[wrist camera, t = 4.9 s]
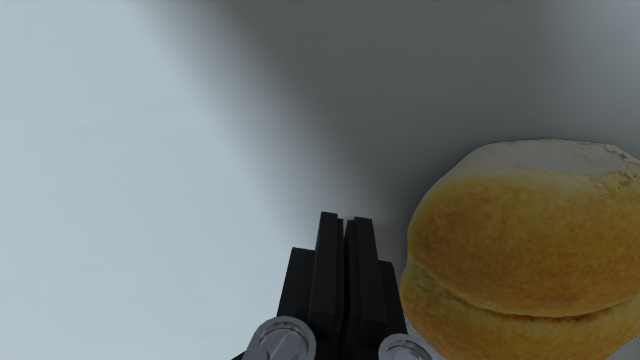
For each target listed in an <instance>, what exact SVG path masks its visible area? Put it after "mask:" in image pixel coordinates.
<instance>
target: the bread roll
mask: <svg viewBox="0 0 640 360" xmlns="http://www.w3.org/2000/svg"><path fill="white" fill-rule="evenodd" d="M407 247H408V254H407V262H406V266H405V269H404V271H403V273H402V277H401V282H400V288H399V293H400V301H401V305H402V307H403V310H404V312H405V314H406V316H407V318H408V319H409V321H410V323H411V324H412V326H413V327H414V328H415V329H416V331H417V332H418V333H419V334H420V335H421V336H422V337H423V338H424V339H425V340H426V341H427V342H428V344H429V345H430V346H431V347H432V348H434V349H435V350H436V351H437V352H438V353H440V354H441V355H442V356H443V357H445V358H446V359H448V360H604V359H606V358H607V357H609V356H610V355H611V354H612V353H614V352H615V351H616V350H617V349H619V348H620V347H621V346H622V345H624V344H625V343H627V342H628V341H630V340H631V339H633V338H634V337H636V336H637V335H638V334H639V333H640V160H639V159H637V158H635V157H633V156H632V155H630V154H629V153H627V152H625V151H623V150H622V149H620V148H619V147H618V146H616V145H610V144H601V143H594V142H582V141H570V140H561V139H538V140H520V141H510V142H504V141H503V142H498V143H492V144H487V145H484V146H481V147H479V148H477V149H476V150H474V151H473V152H471V153H470V154H468V155H467V156H466V157H464V158H463V159H462V160H461V161H460V162H459V163H458V164H457V165H455V166H454V167H453V168H452V169H451V170H450V171H449V172H448V173H446V174H445V175H444V176H443V177H441V178H440V179H439V180H438V181H437V182H436V183H435V184H434V185H433V186H432V187H431V188H430V189H429V190H428V191H427V192H426V194H425V195H424V196H423V198H422V199H421V201H420V202H419V204H418V206H417V208H416V210H415V212H414V214H413V216H412V219H411V221H410V224H409V227H408V230H407Z"/></svg>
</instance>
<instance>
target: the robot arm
mask: <svg viewBox="0 0 640 360" xmlns="http://www.w3.org/2000/svg"><path fill="white" fill-rule="evenodd" d="M232 360H439V359H438V357H437V356H436V354H435V353H434V352H433V350H432V349H431V348H430V347H429V346H428V345H427V344H425V343H424V342H422V341H421V340H420V339H418V338H416V337H413V336H411V335H408V333H407V328H406V324H405V319H404V314H403V310H402V305H401V301H400V296H399V291H398V287H397V282H396V277H395V273H394V268H393V265H392V263H391V262H387V261H381V260H378V256H377V249H376V243H375V236H374V230H373V224H372V219H368V218H361V217H354V220H353V221H352V220H348V222H347V226H346V230H345V235H344V239H343V219H339V218H338V214H335V213H329V212H322V211H321V217H320V223H319V229H318V235H317V241H316V247H315V250H308V249H302V248H295V247H293V248H292V251H291V255H290V259H289V264H288V268H287V272H286V277H285V281H284V285H283V290H282V294H281V298H280V303H279V307H278V311H277V316H276V317H274V318H271V319H269V320H267V321H265V322H264V323H263V324H261V325H260V326H259V327H258V329H257V330H256V332H255V333H254V335H253V337H252V339H251V341H250V343H249V345H248V347H247V350H246V351H244V352H243V353H241V354H240V355H238V356H236V357H235V358H233V359H232Z"/></svg>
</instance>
